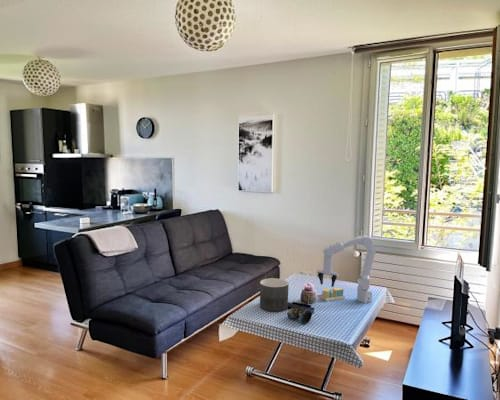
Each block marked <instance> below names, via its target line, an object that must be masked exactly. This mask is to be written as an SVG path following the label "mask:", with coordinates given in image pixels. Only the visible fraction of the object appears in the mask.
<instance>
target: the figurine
mask: <svg viewBox="0 0 500 400" xmlns="http://www.w3.org/2000/svg"><path fill="white" fill-rule="evenodd" d="M286 315H287V318H288V319H289V320H290V319H293V320H299V321H300V322H301V323H302V324H304V325H306V324H308V323H309V322H310V321H311V319H312V317H313V316H312V315H313V313H312V310H311V309H310V308H309V309H306V308H304V307H300V308H299V307H298V308H297V307H291V308H290V309H289V311H287V313H286Z"/></svg>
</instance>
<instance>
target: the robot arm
mask: <svg viewBox="0 0 500 400" xmlns="http://www.w3.org/2000/svg"><path fill="white" fill-rule="evenodd" d="M355 245H360V246H364V248H365V250H366V255H365V258H364V262H363V265H362V270H361V272H360V273H359V277H358V278H357V280H356V283H357V285H358V286H357V288H356V289H357V290H356V291H357V293H356V300H357V301H358V302H362V303H363V304H369V303H372V301H373V293H372V291H371V290H370V287H371V285H370V281H371V278H370V274H371V271H372V268H373V263H374V259H375V255H376V251H377V249H376V245H375V243H374V240H373V239H372V238H370V237H369V236H368V235H367V234H361V235H359V236H358V235H357V236H356V237H353V238H351V239H349V240H347V241H345V242H343V243H342V242H335V244H333V245H332V244H331V245H329V246H326V247H324V249H322V250H323V251H322V252H323V269H317V270H316V274H317V277H318V279H319V283H320V285H321V286H322V285H324V284H323V283H324V276H325V275H327V276H331V277H330V278H331V287H332V288H334V286H335V282H336V280H337V278H338V277H339V272H335V271H333V256H334V255H336V254H338V253H341V252H343V251H344V250H345V249H346V248H349V247H352V246H355Z"/></svg>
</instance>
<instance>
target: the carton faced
mask: <svg viewBox="0 0 500 400" xmlns="http://www.w3.org/2000/svg"><path fill="white" fill-rule="evenodd" d="M331 289H332V291H331V293H332V297H338V296H344V288H342V287H332V288H331Z"/></svg>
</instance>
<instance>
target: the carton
mask: <svg viewBox="0 0 500 400" xmlns="http://www.w3.org/2000/svg"><path fill="white" fill-rule="evenodd" d="M332 289H333V288H327V287H326V288H324V289H322V290H321V291H322V292H321V295H322V299H321V300H323V301H324V300H326V298H331V293H332Z"/></svg>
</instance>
